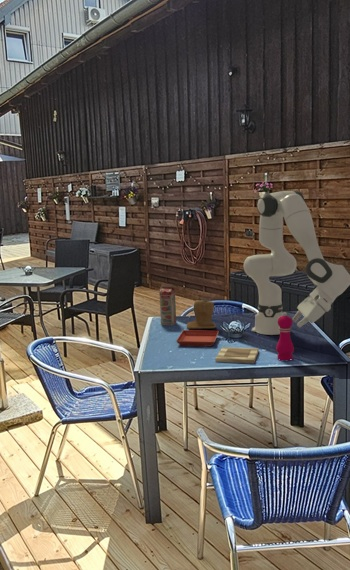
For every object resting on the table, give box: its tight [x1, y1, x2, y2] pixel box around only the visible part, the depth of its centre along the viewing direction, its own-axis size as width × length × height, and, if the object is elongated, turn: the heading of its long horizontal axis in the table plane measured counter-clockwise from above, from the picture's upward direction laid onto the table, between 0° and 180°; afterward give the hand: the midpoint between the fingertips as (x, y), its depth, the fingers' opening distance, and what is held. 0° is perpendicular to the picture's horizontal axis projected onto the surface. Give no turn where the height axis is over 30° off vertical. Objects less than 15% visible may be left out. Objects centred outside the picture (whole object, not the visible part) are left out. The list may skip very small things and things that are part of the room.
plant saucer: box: [175, 329, 220, 347], centre depth 244 cm, size 18×18×3 cm
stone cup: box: [186, 299, 217, 330], centre depth 267 cm, size 15×12×15 cm
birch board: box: [215, 346, 259, 364], centre depth 219 cm, size 16×16×2 cm
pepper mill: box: [275, 311, 295, 361], centre depth 212 cm, size 7×7×20 cm
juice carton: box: [158, 283, 177, 326], centre depth 278 cm, size 7×7×22 cm
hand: (295, 323), depth 211 cm, fingers open, 8 cm apart
